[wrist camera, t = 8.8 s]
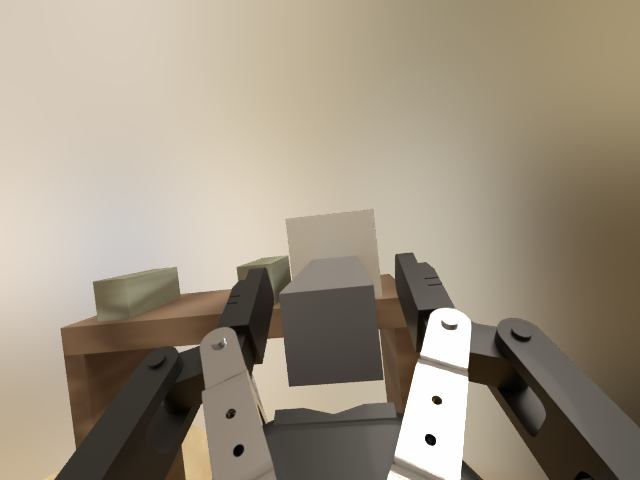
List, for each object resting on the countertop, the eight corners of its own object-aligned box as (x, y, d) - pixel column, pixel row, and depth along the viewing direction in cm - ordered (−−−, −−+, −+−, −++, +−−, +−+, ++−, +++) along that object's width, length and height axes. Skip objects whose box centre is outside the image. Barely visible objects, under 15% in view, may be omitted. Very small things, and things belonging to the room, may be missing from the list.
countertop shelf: (421, 586, 30) (386, 243, 29) (461, 760, 20) (409, 250, 19) (185, 591, 32) (146, 268, 31) (115, 753, 22) (55, 286, 21)
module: (369, 276, 29) (363, 215, 29) (432, 376, 9) (412, 182, 9) (309, 282, 30) (302, 222, 29) (243, 389, 10) (222, 205, 9)
